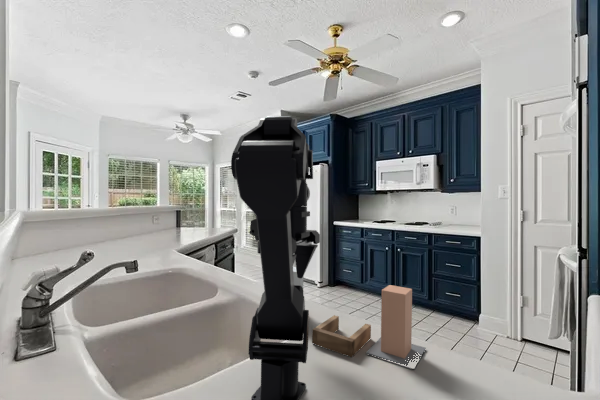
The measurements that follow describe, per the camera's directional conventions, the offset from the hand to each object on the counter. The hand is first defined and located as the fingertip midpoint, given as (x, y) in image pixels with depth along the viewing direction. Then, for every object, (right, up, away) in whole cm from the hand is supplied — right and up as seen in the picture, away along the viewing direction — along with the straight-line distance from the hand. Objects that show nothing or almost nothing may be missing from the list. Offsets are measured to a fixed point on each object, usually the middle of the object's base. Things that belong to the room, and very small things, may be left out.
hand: (291, 283), depth 60 cm
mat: (+21, -13, -1) cm, 25 cm away
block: (+21, -13, -1) cm, 25 cm away
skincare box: (0, -13, +17) cm, 22 cm away
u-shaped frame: (+11, -13, +3) cm, 17 cm away
